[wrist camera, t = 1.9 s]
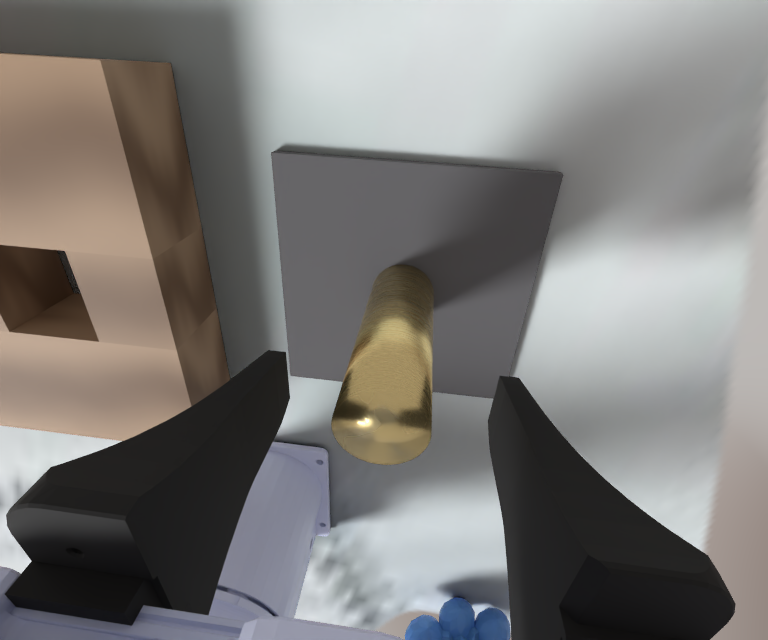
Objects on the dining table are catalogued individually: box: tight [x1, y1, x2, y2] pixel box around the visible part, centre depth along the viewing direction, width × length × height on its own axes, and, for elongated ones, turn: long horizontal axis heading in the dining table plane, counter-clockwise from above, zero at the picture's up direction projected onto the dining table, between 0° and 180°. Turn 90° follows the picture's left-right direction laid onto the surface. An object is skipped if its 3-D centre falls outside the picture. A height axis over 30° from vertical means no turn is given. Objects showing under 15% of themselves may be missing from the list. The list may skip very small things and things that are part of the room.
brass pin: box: [331, 265, 434, 465], centre depth 16 cm, size 3×3×9 cm
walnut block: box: [0, 53, 230, 441], centre depth 20 cm, size 18×12×4 cm, turn 177°
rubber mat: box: [271, 151, 563, 399], centre depth 20 cm, size 12×12×1 cm
